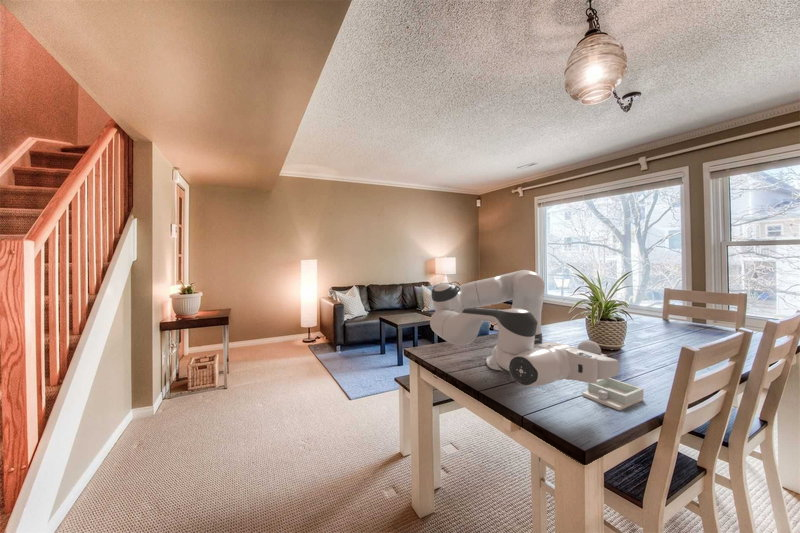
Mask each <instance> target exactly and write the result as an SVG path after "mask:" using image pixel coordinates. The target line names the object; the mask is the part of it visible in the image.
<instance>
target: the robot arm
mask: <svg viewBox="0 0 800 533" xmlns="http://www.w3.org/2000/svg"><path fill="white" fill-rule="evenodd" d="M544 294H545V281H544V278H543V277H542V276H541V275H540V274H539V273H537V272H535V271H532V270H528V269H522V270H517V271H512V272H509V273H505V274H504V273H503V274H500V275H497V276H492V277H489V278H484V279H483V278H482V279H479V280H475V281H470V282H467V283H463V284H461V285H459V286H458V285H456V284H454V283H451V282H441V283H439V284H437V285H435V286H434V287H433V288H432V290H431V300H432V302H433V308H434V313H432V315H431V317H430V319H429V325H430V328H431V330H432V331H433V332H434V333H435V334H436V336H439V338H440V339H443V340H444V341H446V342H448V343H450V344H451V345H454V346H457V347H465V346H467V345H469V344H471V343H473V341H474V340H475V339H476V338H477V337H478V335H479V332H480V330H481V327H482V324H483V323H484V322H490V323H496V324H497V329H498V331H497V332H498V333H497V334H498V335H497V343H496V345H495V346H494V347H493V349H492V352H491V355H490V356H487V357H486V358H485V359H486V360H485V363H486V365H487V367H488V368H489V369H491V370H494V371H502V372H503V373H504V374H506V375H507V376H509V377H511V378H512V379H513V380H514V381H515V382H516V383H518V384H519V385H522V386H524V387H540V386H545V385H550V384H552V383H554V382H556V381H563V380H566V381H567V380H568V381H578V382H583V383H587V384H588V383H596V382H597V380H601V379H607V378H614V377H615V376H618V374H619V371H620V362H619V360H618V359H616V358H612V357H608V355H607V354H604V353H601V354H594V353H590V352H587V351H583V350H579V349H577V348H578V346H570V345H568V344H566V343H558V342H557V343H556V342H553V341H545V342H543V333H542V311H543V303H544V297H545V295H544ZM511 300H512V306H511V308H508V309H507V308H497V307H496V308H494V307H493V308H492V307H487V306H492V305H498V304H502V303H505V302H508V301H511Z"/></svg>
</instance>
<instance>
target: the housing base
mask: <svg viewBox="0 0 800 533" xmlns="http://www.w3.org/2000/svg"><path fill="white" fill-rule="evenodd" d="M587 386H588V387H587V390H586V391H583V392H582V396H583V397H585V398H586V399H590V400H592V401H594V402H598V403H599V404H601V405H604V406H607V407H609V408H612V409H615V410H617V411H622V410H624V409H626V408H628V407H631V406H633V405H635V404H637V403H640V402H642V401H644V389H645V388H642V387H640V386H639V387H638V386H636V385H633V384H630V383H626V382H624V381H621V380H617V379H614V378H613V377H611V378H607V379H601V380H599V379H597V382H596V383H587Z"/></svg>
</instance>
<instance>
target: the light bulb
mask: <svg viewBox="0 0 800 533" xmlns="http://www.w3.org/2000/svg"><path fill="white" fill-rule="evenodd" d="M577 347H578V348H577V349H579V350H583V351H587V352H590V353H594V354H602V349H601V347H600V346H599V344H598V343H597V342H595V341H593V340H587V339H586V340H583V341H581V342H580V343H579V344H578V346H577Z"/></svg>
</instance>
